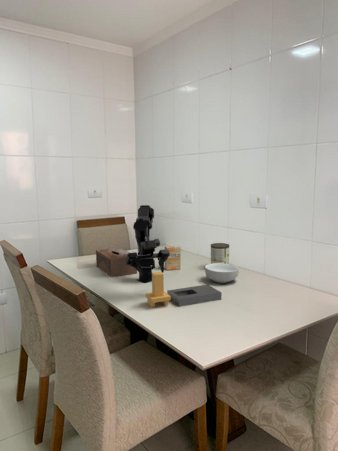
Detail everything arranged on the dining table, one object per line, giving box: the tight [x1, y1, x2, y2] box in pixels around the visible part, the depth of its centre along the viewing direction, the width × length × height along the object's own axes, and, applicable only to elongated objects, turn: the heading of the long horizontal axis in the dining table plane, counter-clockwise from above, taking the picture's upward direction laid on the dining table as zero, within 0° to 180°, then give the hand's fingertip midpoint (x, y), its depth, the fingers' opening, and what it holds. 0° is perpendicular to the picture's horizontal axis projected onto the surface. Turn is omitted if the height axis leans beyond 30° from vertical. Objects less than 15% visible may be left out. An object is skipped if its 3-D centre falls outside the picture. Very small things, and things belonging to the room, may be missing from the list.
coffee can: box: [210, 242, 230, 264], centre depth 196 cm, size 10×10×14 cm
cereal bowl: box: [204, 263, 240, 284], centre depth 177 cm, size 17×17×7 cm
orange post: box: [145, 271, 172, 308], centre depth 145 cm, size 8×8×13 cm
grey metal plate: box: [166, 284, 222, 307], centre depth 152 cm, size 12×20×3 cm, turn 114°
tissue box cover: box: [95, 246, 138, 278], centre depth 198 cm, size 26×14×10 cm, turn 29°
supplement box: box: [164, 245, 182, 271], centre depth 198 cm, size 8×5×13 cm, turn 105°
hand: (152, 273), depth 149 cm, fingers open, 9 cm apart
